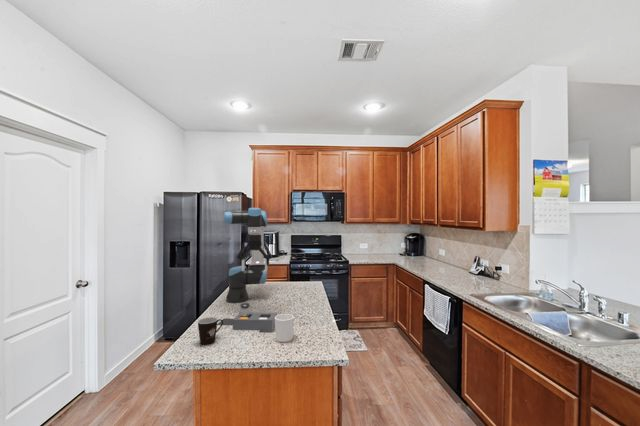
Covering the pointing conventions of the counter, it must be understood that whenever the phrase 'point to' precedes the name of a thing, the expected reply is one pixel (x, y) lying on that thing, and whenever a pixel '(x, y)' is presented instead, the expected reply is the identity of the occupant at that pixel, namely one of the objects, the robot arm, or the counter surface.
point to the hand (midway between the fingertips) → (254, 270)
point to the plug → (245, 310)
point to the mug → (284, 328)
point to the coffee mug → (208, 330)
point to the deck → (226, 322)
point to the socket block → (255, 321)
